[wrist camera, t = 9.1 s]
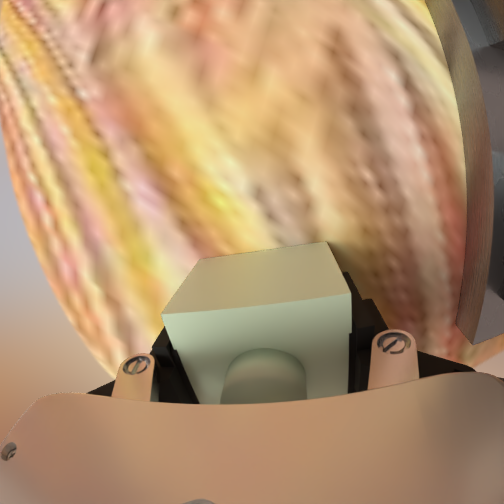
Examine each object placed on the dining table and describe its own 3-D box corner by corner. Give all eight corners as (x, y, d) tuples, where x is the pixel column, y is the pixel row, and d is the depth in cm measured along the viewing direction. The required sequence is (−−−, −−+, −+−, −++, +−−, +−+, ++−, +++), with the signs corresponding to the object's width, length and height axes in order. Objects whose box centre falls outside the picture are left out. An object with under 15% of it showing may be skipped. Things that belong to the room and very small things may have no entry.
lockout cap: (199, 259, 12) (144, 338, 7) (326, 241, 11) (362, 318, 6) (226, 356, 13) (202, 449, 8) (333, 345, 13) (352, 442, 7)
